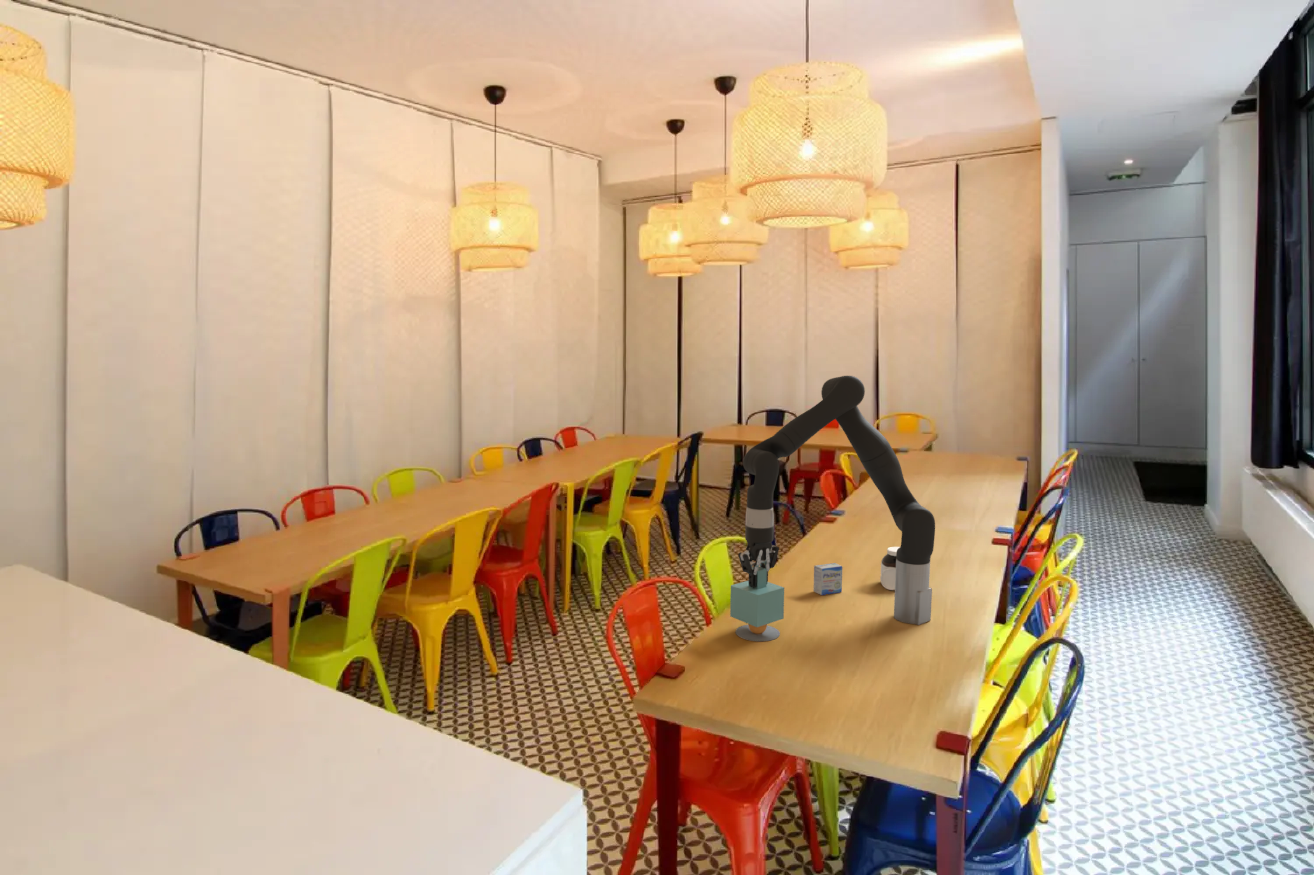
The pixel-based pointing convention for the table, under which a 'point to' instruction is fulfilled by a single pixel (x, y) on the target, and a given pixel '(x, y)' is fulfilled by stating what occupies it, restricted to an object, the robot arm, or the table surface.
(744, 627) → the spot
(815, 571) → the medicine box
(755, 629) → the ball
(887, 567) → the spread jar
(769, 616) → the teal cube with peg
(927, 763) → the table surface
